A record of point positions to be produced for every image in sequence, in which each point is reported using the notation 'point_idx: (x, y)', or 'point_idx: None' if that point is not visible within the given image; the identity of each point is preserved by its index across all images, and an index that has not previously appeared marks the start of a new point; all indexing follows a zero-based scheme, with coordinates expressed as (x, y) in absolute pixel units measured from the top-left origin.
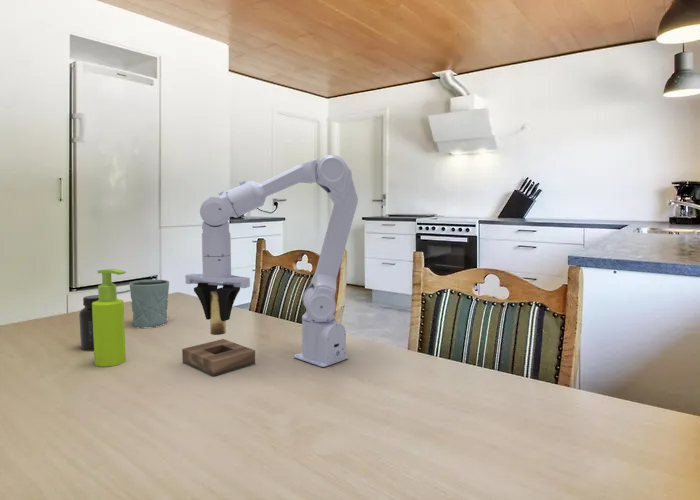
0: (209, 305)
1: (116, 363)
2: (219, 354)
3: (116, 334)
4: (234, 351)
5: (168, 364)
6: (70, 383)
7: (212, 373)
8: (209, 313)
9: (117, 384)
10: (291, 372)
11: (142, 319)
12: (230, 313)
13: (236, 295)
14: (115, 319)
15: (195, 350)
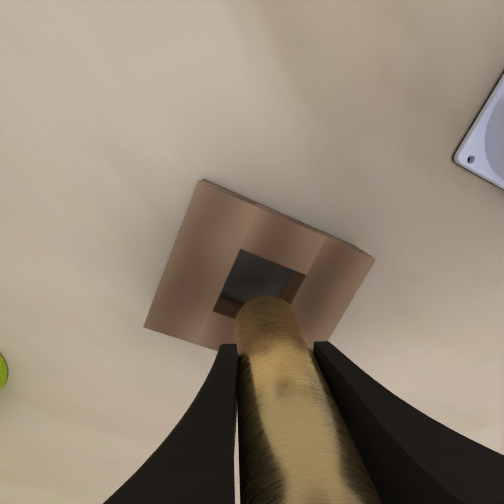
0: (233, 439)
1: (3, 379)
2: None
3: None
4: (318, 292)
5: (130, 327)
6: (33, 472)
7: None
8: (236, 401)
9: (128, 445)
10: (466, 267)
11: None
12: (344, 357)
13: (462, 442)
14: None
15: (195, 325)
